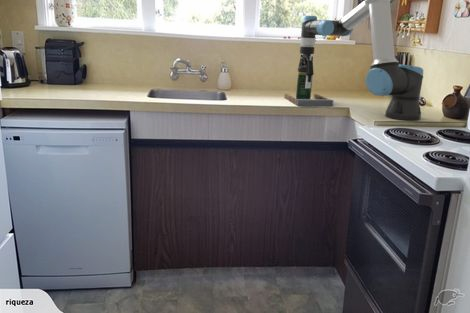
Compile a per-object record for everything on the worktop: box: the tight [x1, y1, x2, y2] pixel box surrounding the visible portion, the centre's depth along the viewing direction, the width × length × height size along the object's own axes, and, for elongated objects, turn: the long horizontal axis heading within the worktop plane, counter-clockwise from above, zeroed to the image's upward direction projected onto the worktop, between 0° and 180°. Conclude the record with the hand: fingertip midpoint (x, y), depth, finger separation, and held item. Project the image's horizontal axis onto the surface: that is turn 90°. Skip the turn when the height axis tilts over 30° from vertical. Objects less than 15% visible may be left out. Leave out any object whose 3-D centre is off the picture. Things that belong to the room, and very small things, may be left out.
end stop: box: [295, 98, 334, 107], centre depth 216 cm, size 3×18×3 cm, turn 99°
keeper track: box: [283, 92, 328, 106], centre depth 228 cm, size 24×18×2 cm
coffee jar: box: [295, 65, 314, 99], centre depth 231 cm, size 10×8×19 cm
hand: (304, 86), depth 232 cm, fingers open, 13 cm apart
